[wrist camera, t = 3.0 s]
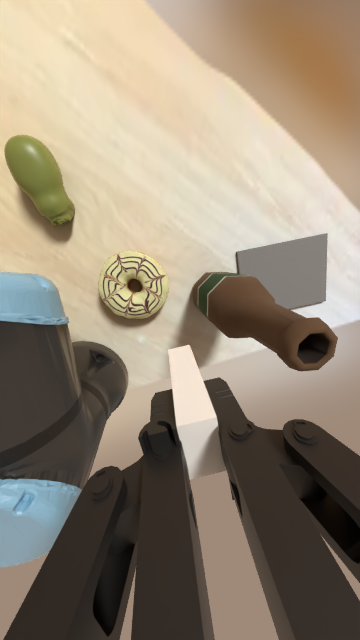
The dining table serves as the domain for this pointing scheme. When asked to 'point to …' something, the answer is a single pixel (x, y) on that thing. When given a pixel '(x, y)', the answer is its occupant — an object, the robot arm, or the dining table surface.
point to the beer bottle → (263, 320)
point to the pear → (39, 177)
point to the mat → (289, 270)
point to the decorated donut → (121, 273)
